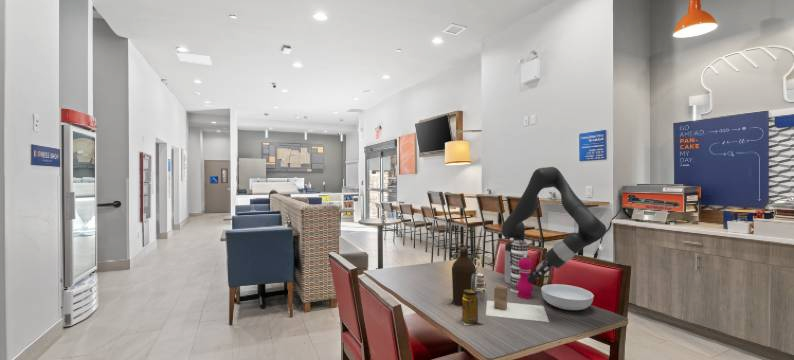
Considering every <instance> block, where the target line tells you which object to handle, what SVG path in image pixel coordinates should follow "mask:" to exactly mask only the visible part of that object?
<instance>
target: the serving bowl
mask: <svg viewBox="0 0 794 360" xmlns="http://www.w3.org/2000/svg"><path fill="white" fill-rule="evenodd" d="M540 289H541V290H540V291H541V296H542V297H543V299H544V300H545V301H546V302H547V303H548V304H550V306H553V307H555V308H558V309H561V310H565V311H580V310H586V309H587V308H589V307H590V306H591V305H592V304H593V301H594V298H595V295H594V294H593V293H592V292H591V291H589V290H587V289H585V288H582V287H579V286H575V285H569V284H560V283H559V284H557V283H552V284H546V285H542V286H541V288H540Z"/></svg>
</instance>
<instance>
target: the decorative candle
mask: <svg viewBox="0 0 794 360" xmlns="http://www.w3.org/2000/svg"><path fill="white" fill-rule="evenodd" d="M513 240H514V239H513ZM513 240H512V241H513ZM511 244H512V249H511V251H510V253H511V254H510V256H511V258H510V260H511V261H510V263H511V265H510V266H511V276H510V278H511V279H510V281H511V282H510V284H509V285H510V286H509V288H510V289H509V290H510V291H511V292H513V293H516V294H518V292H519V291H518V290H517V284H518V282H519V280H520V275H521V274H520V271H519V270H520V267H519V265H518V262H519V260H520V259H522V258H523V256H524V255H526V256H527V259H529V258H530V256H529V255H528V253H529V250H528V246H529V243H527V242H526V240H524V241H523V240H514V241H513V243H511Z"/></svg>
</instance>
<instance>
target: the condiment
mask: <svg viewBox="0 0 794 360" xmlns="http://www.w3.org/2000/svg"><path fill="white" fill-rule="evenodd" d="M463 293H464V295H463V296H464V297H463V298H462V306H461V309H462V311H461V312H462V313H461V315H462V316H461V317H462V319H460V321H461V323H462V324H463V325H464V326H476V325H478V326H479V325H480V326H481V325H483V323H481V322H479V321H478V320H479V318H478V317H479V315H478V314H479V298H478V292H477V291H476V289H475V290H471V289H467V290H464V292H463Z"/></svg>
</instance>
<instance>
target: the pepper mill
mask: <svg viewBox="0 0 794 360" xmlns="http://www.w3.org/2000/svg"><path fill="white" fill-rule="evenodd" d="M518 265H519V267H520V270H519V271H520V274H521V275H520V280H519V282H518V284H517V290H518V291H519V292H518V293H517V297H518V298H520V299H524V300H530V299H533V298H532V297H533V295H532V292H533V291H534V287H533V282H532V283H531V284H530V283H529V282H528V281H527V279H528V278H529V277H530V276H529V274H530V273H531V272H532V270H531V268H532V266H533V263H532V261H531V260H530V259H529V258H528V259H527V256H526V255H524V256H523V258H522V259H520V260H519V262H518Z"/></svg>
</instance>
